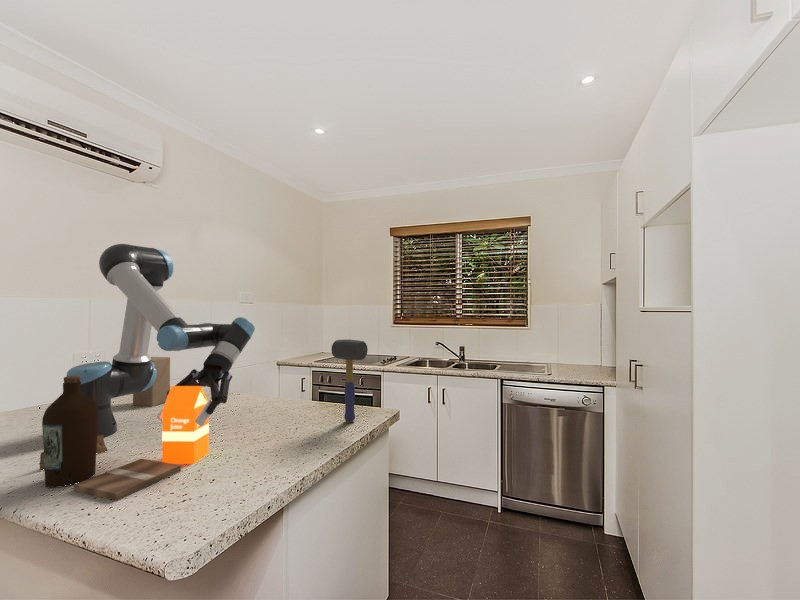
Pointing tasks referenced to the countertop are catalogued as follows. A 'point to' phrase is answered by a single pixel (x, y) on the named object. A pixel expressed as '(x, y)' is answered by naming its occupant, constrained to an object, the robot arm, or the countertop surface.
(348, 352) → the rubber mallet
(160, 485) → the countertop surface
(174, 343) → the robot arm
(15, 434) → the countertop surface
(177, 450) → the orange juice
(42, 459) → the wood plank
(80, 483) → the board
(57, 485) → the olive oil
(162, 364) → the wooden block
